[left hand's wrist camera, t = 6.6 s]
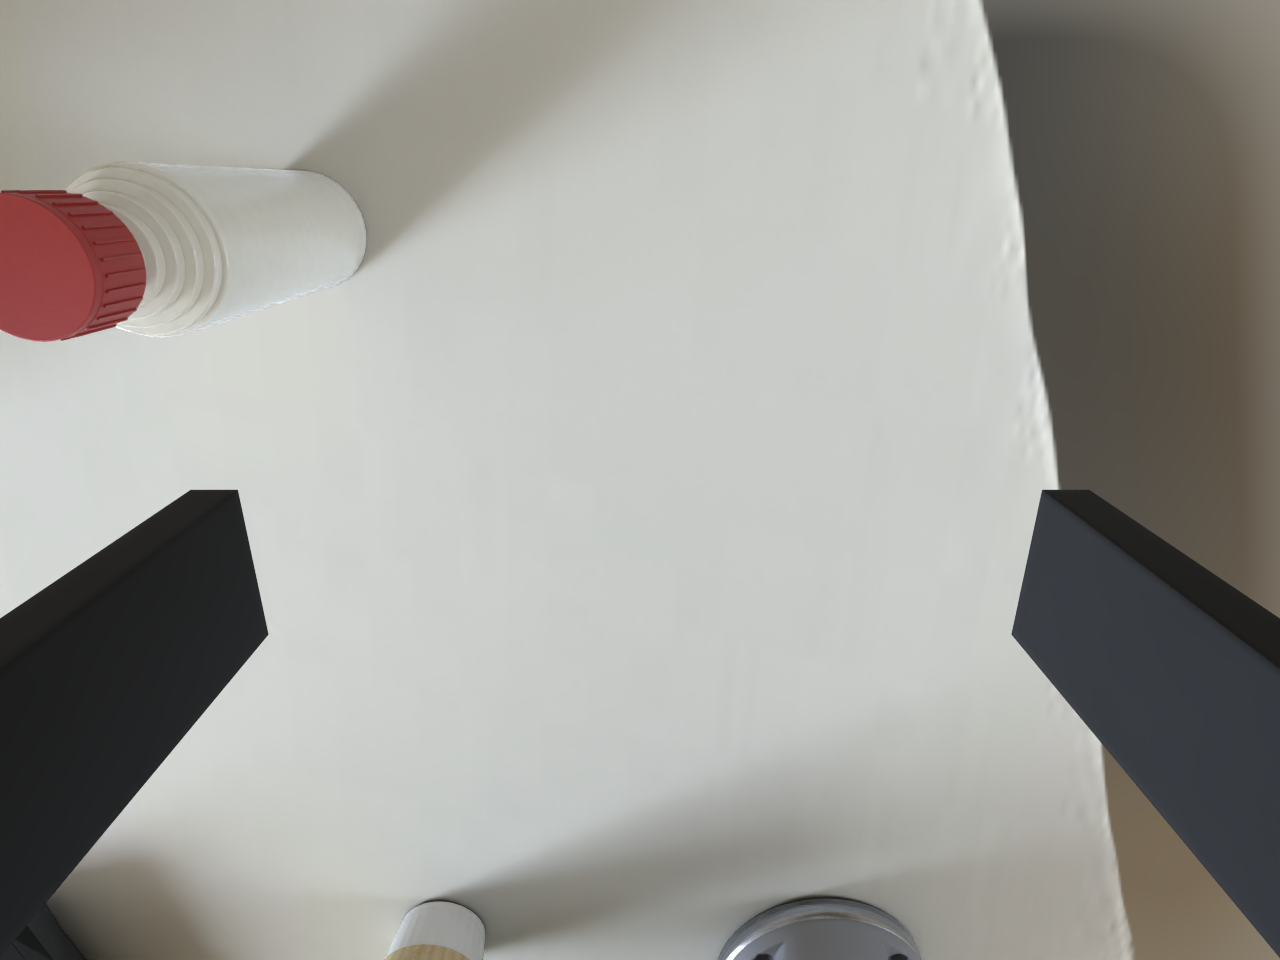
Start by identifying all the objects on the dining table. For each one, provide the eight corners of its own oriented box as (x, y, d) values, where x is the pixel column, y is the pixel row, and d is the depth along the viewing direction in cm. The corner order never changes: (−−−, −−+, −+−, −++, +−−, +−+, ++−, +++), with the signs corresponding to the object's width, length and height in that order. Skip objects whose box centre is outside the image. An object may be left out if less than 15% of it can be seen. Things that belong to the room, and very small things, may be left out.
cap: (95, 355, 23) (40, 372, 21) (-17, 251, 22) (-88, 258, 20) (176, 272, 22) (127, 281, 20) (63, 159, 21) (-1, 156, 19)
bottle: (314, 310, 39) (57, 408, 22) (230, 222, 37) (-119, 252, 20) (390, 239, 37) (180, 284, 20) (306, 145, 36) (2, 106, 19)
